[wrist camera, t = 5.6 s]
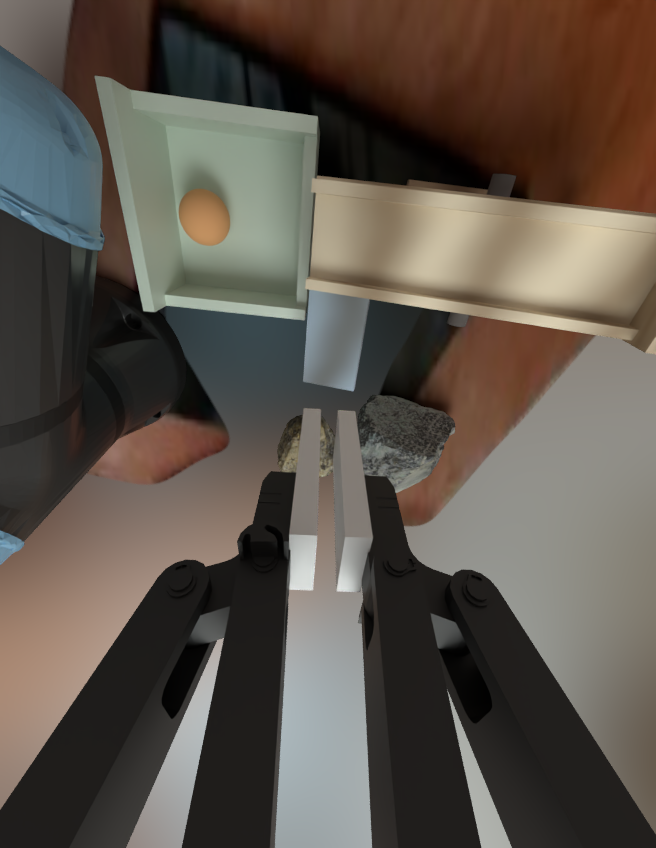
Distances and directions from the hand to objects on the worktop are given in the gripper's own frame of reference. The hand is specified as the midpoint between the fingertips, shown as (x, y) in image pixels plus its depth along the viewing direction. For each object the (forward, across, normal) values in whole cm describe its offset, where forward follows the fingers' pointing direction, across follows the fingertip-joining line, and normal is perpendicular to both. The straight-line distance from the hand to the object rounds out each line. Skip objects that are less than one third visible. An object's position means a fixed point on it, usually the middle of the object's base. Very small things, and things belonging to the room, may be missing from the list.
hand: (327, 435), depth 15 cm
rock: (+19, -1, -15) cm, 25 cm away
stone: (+19, +8, -11) cm, 24 cm away
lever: (+10, +9, +4) cm, 14 cm away
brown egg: (+17, -10, +7) cm, 21 cm away
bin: (+19, -7, +7) cm, 22 cm away
